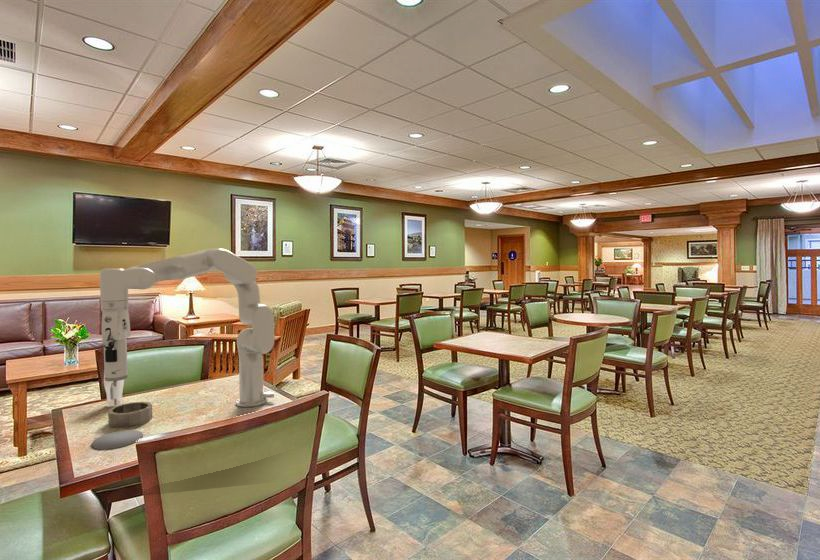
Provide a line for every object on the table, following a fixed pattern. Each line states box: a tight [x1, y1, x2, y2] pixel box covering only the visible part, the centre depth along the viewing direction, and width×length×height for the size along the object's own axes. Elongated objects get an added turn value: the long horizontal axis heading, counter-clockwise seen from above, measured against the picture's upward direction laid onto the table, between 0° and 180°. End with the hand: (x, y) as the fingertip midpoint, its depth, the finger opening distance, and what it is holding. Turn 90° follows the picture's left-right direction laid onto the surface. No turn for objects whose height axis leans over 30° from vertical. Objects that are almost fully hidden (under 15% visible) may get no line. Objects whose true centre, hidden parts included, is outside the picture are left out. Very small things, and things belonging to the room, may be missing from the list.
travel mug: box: [103, 319, 129, 381], centre depth 141 cm, size 6×7×20 cm
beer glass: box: [103, 370, 125, 408], centre depth 176 cm, size 7×7×15 cm
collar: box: [107, 401, 153, 429], centre depth 159 cm, size 13×13×5 cm
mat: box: [91, 429, 144, 450], centre depth 142 cm, size 14×14×1 cm
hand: (116, 359), depth 141 cm, fingers closed on travel mug, 6 cm apart
